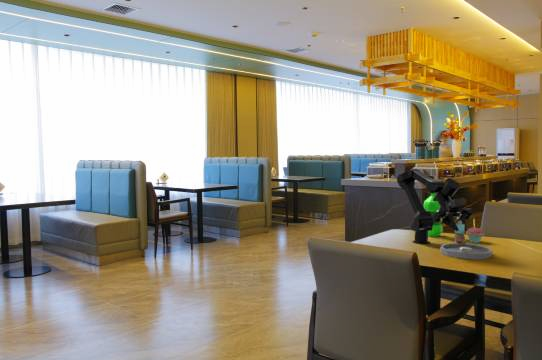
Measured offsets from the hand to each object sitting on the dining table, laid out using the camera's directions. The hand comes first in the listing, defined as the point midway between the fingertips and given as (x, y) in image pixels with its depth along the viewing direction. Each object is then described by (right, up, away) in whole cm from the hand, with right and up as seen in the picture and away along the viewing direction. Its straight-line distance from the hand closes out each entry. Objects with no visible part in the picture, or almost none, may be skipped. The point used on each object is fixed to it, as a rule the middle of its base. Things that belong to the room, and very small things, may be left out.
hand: (461, 230), depth 201 cm
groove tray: (+3, -11, +4) cm, 12 cm away
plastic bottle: (+4, -8, +45) cm, 46 cm away
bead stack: (0, -6, +2) cm, 7 cm away
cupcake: (+19, -9, +29) cm, 36 cm away
